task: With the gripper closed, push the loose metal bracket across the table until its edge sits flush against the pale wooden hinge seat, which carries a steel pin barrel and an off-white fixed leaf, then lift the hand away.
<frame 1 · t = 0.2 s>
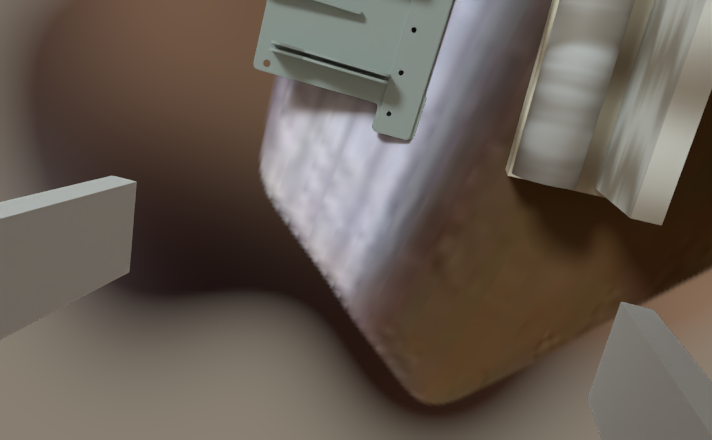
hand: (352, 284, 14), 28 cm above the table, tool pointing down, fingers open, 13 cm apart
metal bracket: (361, 16, 40), on the table
hinge seat: (591, 58, 37), on the table
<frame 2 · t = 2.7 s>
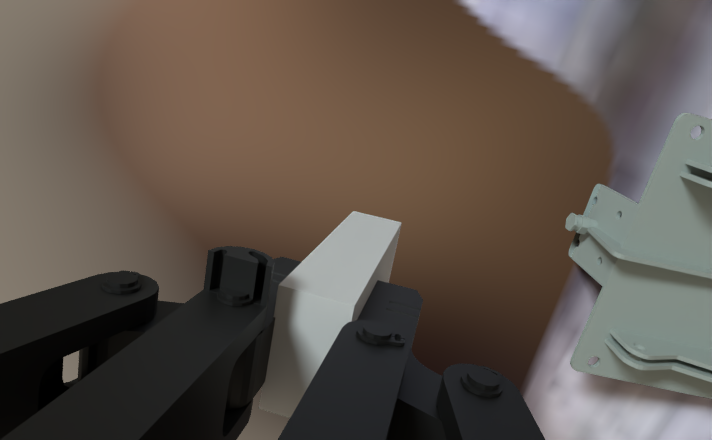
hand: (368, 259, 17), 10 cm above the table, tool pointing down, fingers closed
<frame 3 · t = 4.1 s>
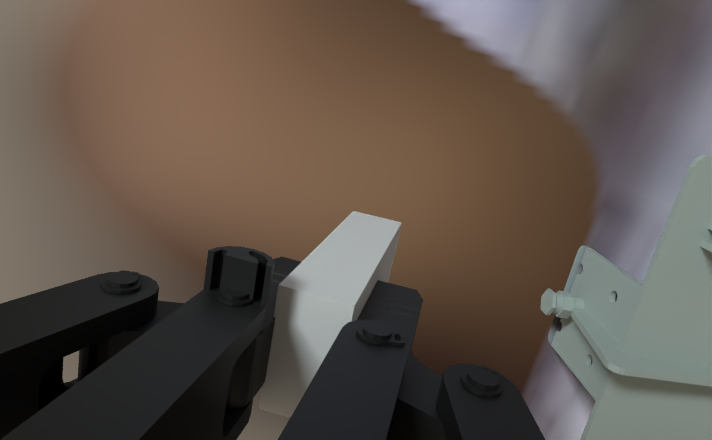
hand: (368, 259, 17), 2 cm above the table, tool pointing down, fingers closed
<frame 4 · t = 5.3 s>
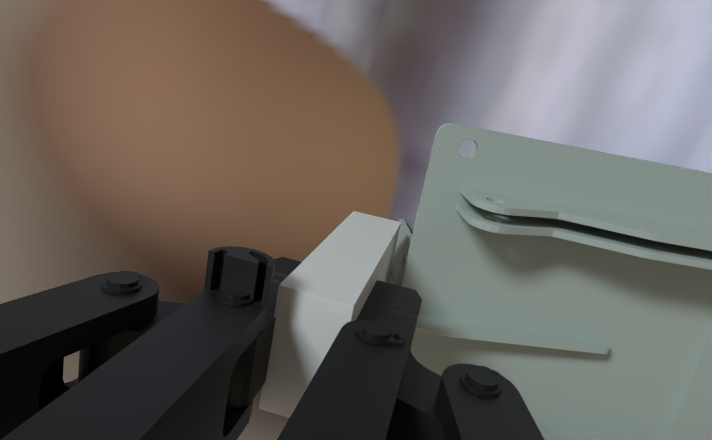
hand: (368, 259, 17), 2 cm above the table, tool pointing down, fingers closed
metal bracket: (571, 308, 19), on the table, touching gripper
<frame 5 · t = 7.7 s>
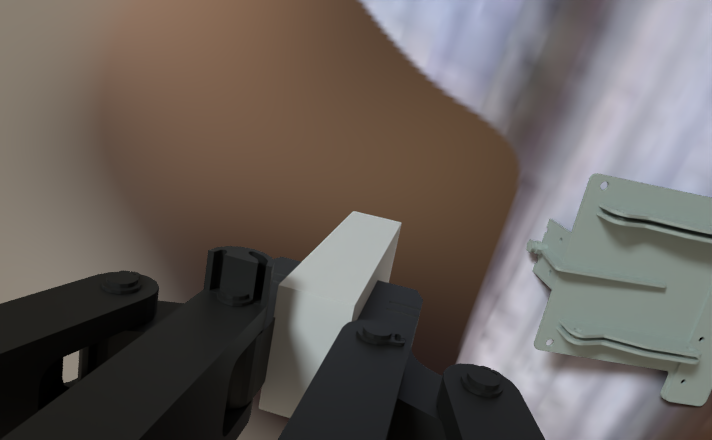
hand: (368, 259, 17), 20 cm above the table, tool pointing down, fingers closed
metal bracket: (640, 268, 35), on the table
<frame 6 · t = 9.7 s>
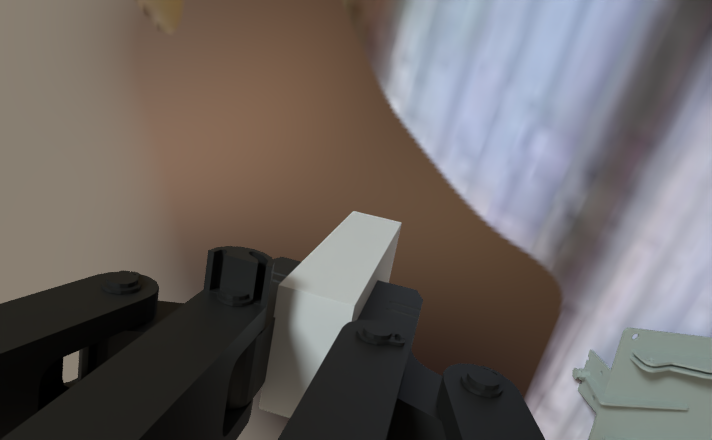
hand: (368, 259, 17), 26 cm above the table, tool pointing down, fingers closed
metal bracket: (666, 386, 43), on the table
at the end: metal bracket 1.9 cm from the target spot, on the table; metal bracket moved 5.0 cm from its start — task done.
